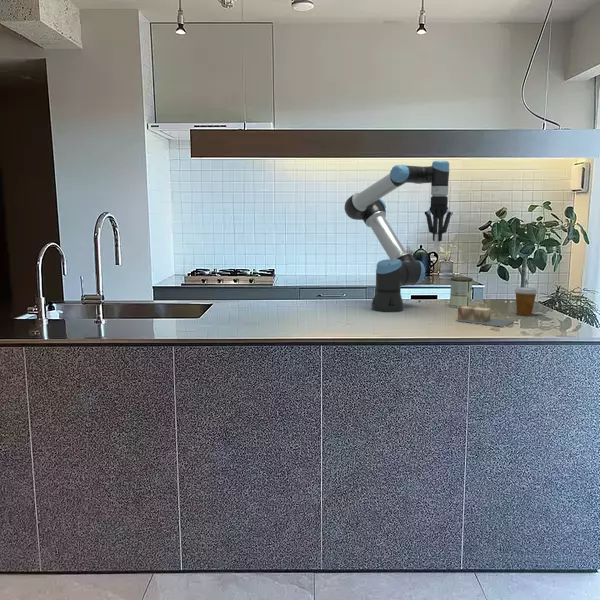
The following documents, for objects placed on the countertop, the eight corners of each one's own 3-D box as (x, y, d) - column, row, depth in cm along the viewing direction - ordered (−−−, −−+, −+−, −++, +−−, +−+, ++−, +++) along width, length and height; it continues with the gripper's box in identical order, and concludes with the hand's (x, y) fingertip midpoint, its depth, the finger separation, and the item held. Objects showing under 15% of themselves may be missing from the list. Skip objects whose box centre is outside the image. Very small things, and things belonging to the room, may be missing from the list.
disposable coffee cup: (535, 313, 259) (537, 287, 257) (534, 317, 250) (536, 290, 248) (513, 311, 263) (515, 286, 261) (512, 315, 254) (514, 289, 252)
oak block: (458, 307, 242) (485, 310, 234) (463, 305, 246) (490, 308, 239) (457, 318, 242) (485, 322, 235) (462, 316, 247) (490, 320, 240)
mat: (455, 321, 239) (455, 320, 239) (467, 316, 250) (467, 315, 250) (503, 327, 227) (503, 326, 227) (513, 322, 238) (514, 321, 238)
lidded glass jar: (447, 304, 282) (449, 276, 280) (468, 305, 281) (470, 277, 279) (451, 308, 272) (452, 279, 270) (473, 308, 271) (474, 279, 269)
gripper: (422, 195, 254) (420, 248, 258) (449, 195, 246) (447, 249, 250) (429, 196, 260) (427, 247, 264) (456, 196, 252) (453, 248, 256)
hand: (436, 248), depth 257 cm, fingers closed
